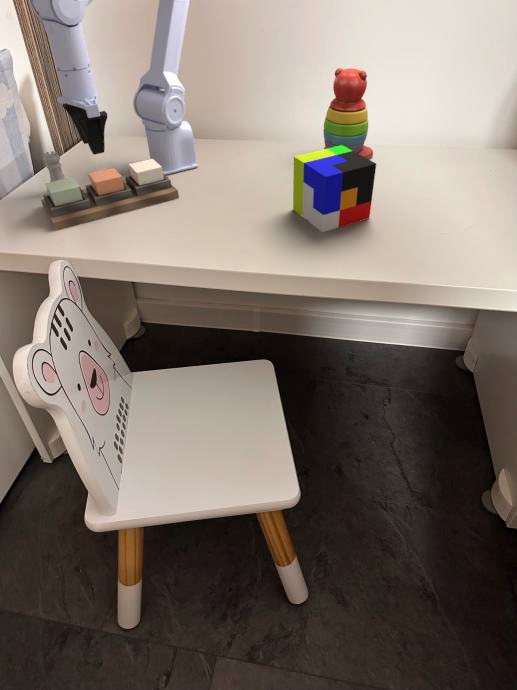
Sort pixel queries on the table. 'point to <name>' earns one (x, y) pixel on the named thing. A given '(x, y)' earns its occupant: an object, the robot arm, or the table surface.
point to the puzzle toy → (333, 187)
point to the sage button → (64, 191)
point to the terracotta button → (106, 181)
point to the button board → (108, 202)
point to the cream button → (146, 171)
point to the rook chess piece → (53, 166)
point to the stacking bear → (348, 113)
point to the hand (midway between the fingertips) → (93, 147)
